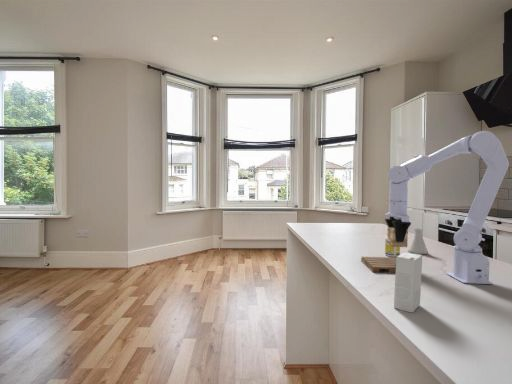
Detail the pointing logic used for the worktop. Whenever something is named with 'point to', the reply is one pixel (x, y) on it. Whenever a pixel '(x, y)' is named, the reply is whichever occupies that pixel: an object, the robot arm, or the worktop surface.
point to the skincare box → (408, 282)
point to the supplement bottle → (391, 250)
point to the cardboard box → (392, 238)
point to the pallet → (380, 263)
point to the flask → (418, 243)
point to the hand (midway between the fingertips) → (396, 240)
